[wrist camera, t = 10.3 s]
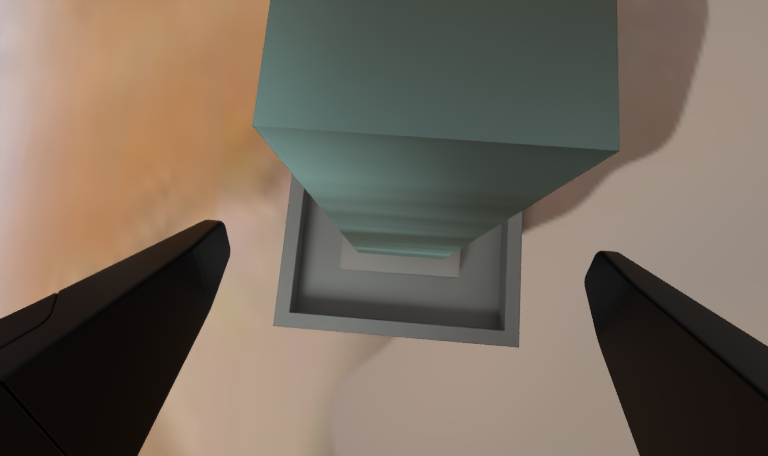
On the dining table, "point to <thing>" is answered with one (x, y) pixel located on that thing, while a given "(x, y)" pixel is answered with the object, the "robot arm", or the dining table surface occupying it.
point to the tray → (397, 286)
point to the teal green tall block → (435, 115)
